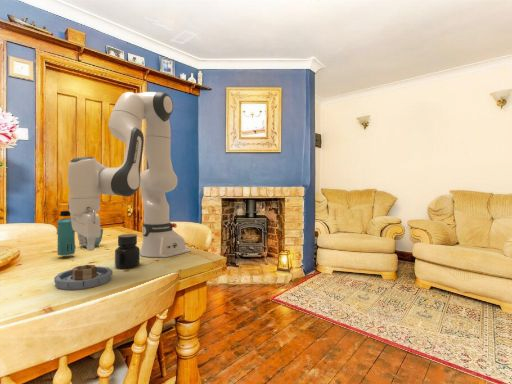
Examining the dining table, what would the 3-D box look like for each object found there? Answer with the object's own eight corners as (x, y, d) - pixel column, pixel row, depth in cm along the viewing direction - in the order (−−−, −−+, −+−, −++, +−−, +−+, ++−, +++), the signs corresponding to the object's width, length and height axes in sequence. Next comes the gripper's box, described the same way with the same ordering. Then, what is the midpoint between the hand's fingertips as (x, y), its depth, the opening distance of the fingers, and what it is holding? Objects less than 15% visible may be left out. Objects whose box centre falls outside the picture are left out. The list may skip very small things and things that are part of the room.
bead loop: (92, 273, 102) (92, 263, 101) (98, 278, 97) (98, 267, 97) (71, 277, 97) (71, 267, 97) (76, 282, 93) (75, 271, 92)
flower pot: (103, 246, 147) (103, 228, 146) (85, 249, 139) (85, 230, 139) (94, 244, 151) (94, 226, 151) (76, 247, 144) (76, 229, 144)
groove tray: (103, 270, 108) (103, 263, 108) (118, 282, 97) (118, 273, 97) (50, 280, 97) (50, 271, 97) (61, 294, 86) (60, 284, 86)
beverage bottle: (66, 259, 122) (66, 211, 121) (53, 258, 123) (52, 211, 122) (79, 255, 128) (78, 210, 127) (66, 254, 129) (65, 209, 129)
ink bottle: (136, 261, 121) (136, 232, 121) (144, 266, 115) (144, 235, 114) (110, 265, 115) (110, 235, 115) (117, 270, 108) (117, 238, 108)
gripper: (105, 208, 91) (107, 251, 92) (87, 203, 106) (88, 241, 107) (82, 209, 87) (84, 255, 87) (66, 204, 101) (68, 244, 102)
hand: (86, 247), depth 97 cm, fingers open, 8 cm apart
